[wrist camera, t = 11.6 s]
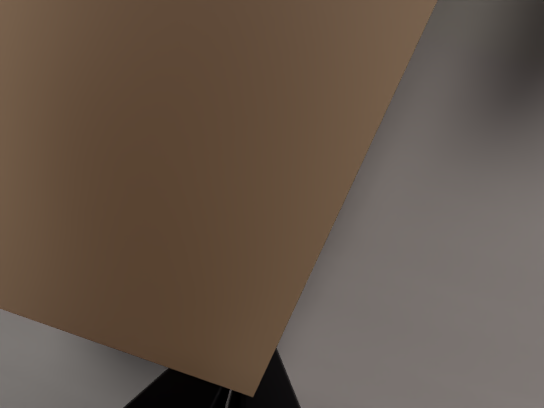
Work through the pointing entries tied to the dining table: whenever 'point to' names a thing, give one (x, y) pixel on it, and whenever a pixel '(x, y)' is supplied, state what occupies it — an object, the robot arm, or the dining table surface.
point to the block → (185, 164)
